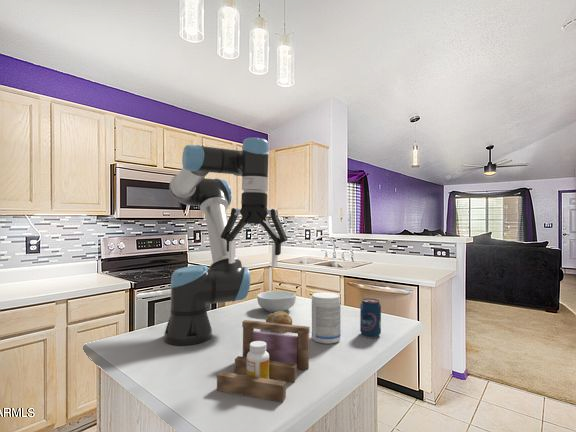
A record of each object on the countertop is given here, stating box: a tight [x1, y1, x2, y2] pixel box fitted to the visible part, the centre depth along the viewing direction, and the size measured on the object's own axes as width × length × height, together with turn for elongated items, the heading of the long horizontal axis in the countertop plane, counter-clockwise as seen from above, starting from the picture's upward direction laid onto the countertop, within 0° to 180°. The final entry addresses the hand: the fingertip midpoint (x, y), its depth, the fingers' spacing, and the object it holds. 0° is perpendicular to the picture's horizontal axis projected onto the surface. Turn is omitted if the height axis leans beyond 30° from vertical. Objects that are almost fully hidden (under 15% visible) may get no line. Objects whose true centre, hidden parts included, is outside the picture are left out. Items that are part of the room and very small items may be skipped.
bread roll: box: [265, 311, 293, 333], centre depth 120 cm, size 10×10×8 cm
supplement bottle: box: [247, 341, 270, 379], centre depth 78 cm, size 5×5×10 cm
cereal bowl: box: [256, 290, 297, 313], centre depth 143 cm, size 17×17×7 cm
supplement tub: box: [311, 292, 342, 345], centre depth 109 cm, size 10×10×15 cm
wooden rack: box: [216, 319, 311, 403], centre depth 82 cm, size 19×19×11 cm
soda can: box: [359, 298, 382, 339], centre depth 113 cm, size 7×7×12 cm
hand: (252, 264), depth 96 cm, fingers open, 13 cm apart
